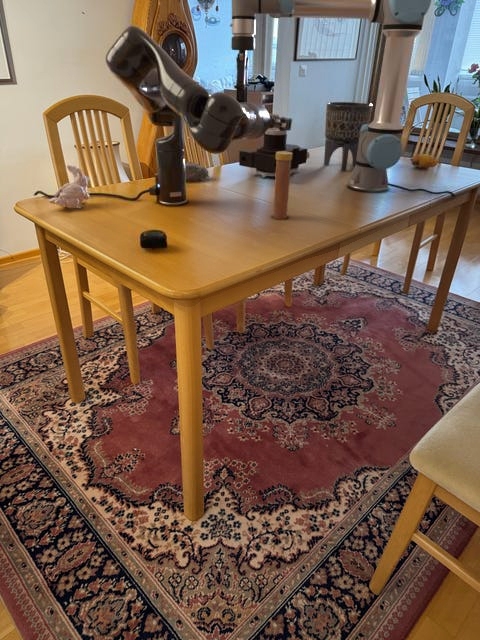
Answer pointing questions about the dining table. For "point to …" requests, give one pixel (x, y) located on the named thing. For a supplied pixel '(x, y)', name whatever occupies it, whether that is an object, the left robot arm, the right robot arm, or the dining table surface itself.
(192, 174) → the rock
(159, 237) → the tape measure
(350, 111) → the planter
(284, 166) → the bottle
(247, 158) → the mechanical component
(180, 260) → the dining table surface
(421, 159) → the toy
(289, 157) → the lid
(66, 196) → the figurine
